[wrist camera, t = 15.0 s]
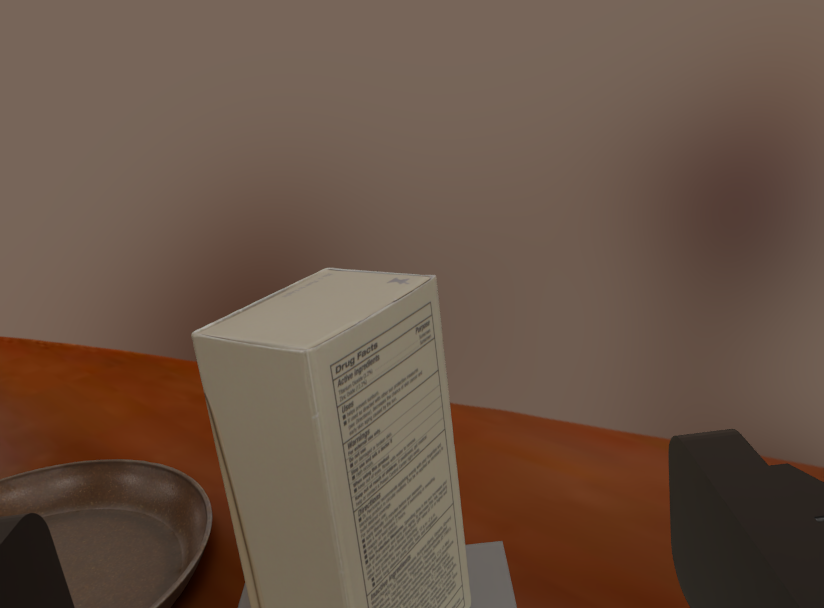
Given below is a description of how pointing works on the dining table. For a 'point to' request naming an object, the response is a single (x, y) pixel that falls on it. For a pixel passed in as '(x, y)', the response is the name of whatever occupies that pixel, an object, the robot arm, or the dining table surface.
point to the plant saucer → (117, 528)
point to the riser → (474, 577)
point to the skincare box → (339, 443)
